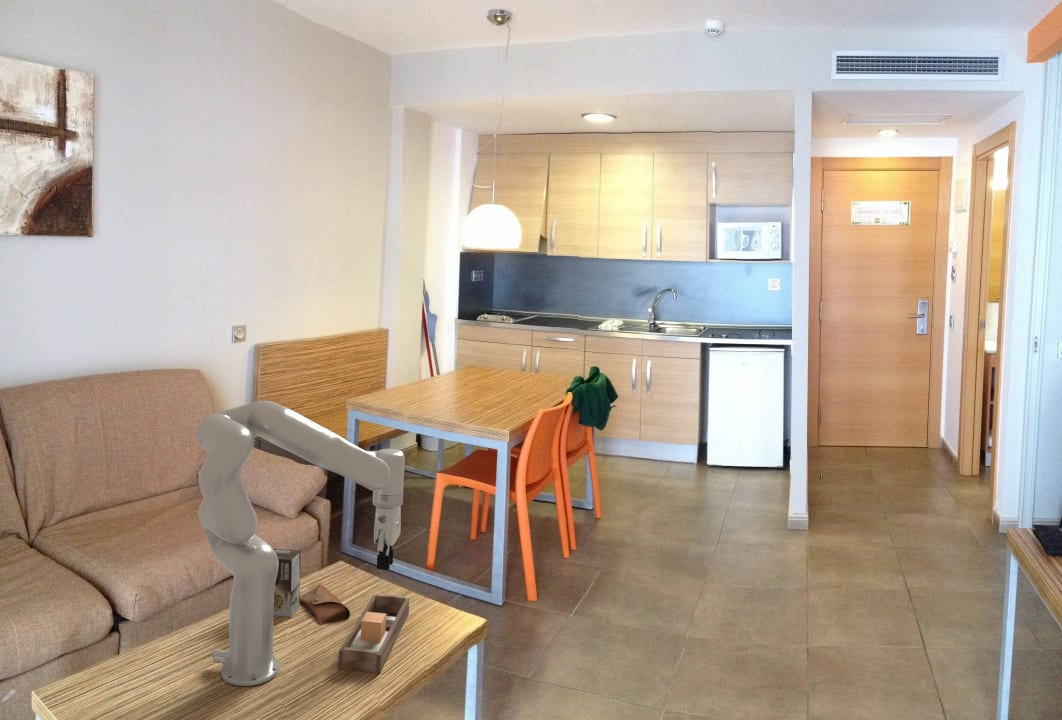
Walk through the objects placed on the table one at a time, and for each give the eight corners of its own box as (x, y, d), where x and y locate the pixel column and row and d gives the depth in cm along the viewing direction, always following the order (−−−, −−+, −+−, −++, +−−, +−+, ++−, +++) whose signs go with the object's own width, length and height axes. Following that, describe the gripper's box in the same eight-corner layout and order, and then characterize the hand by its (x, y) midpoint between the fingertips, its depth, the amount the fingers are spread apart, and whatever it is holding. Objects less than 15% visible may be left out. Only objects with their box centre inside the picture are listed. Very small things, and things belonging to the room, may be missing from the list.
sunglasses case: (293, 598, 220) (305, 576, 221) (313, 605, 224) (325, 584, 225) (320, 625, 206) (333, 602, 207) (341, 632, 210) (354, 609, 212)
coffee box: (300, 607, 215) (302, 550, 213) (290, 618, 209) (292, 559, 207) (268, 603, 216) (269, 547, 214) (257, 614, 210) (258, 556, 208)
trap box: (338, 668, 187) (339, 648, 186) (372, 610, 216) (373, 593, 215) (380, 673, 186) (381, 653, 185) (408, 614, 216) (409, 596, 215)
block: (360, 640, 195) (361, 620, 195) (366, 630, 200) (366, 611, 200) (380, 642, 195) (381, 623, 194) (385, 632, 200) (386, 613, 199)
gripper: (394, 509, 194) (391, 581, 196) (409, 489, 210) (406, 555, 212) (364, 506, 194) (361, 578, 197) (381, 486, 210) (378, 553, 213)
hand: (384, 565), depth 204 cm, fingers open, 2 cm apart
